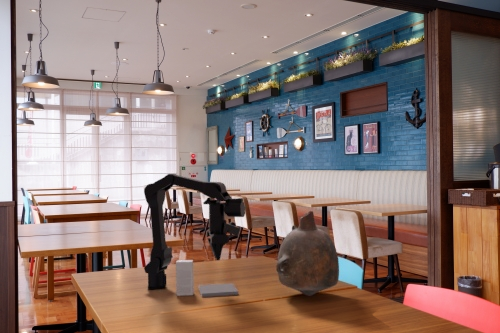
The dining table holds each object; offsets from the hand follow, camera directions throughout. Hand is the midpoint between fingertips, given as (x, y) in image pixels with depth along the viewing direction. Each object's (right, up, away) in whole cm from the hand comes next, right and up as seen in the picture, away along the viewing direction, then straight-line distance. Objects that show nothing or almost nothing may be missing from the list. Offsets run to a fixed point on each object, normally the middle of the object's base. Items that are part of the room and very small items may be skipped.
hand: (217, 259), depth 181 cm
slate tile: (0, -12, 0) cm, 12 cm away
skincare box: (-11, -12, -3) cm, 17 cm away
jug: (+32, -12, -8) cm, 35 cm away
